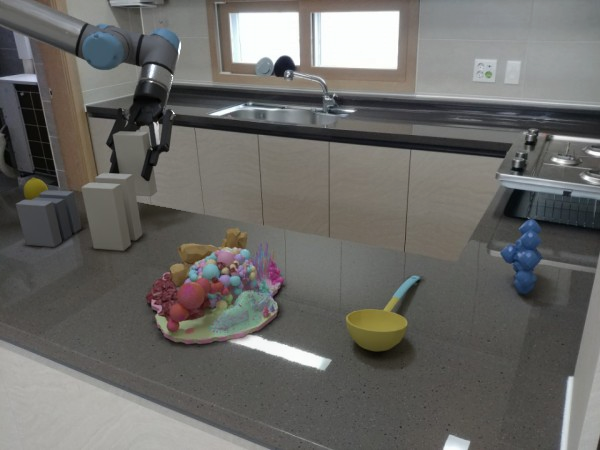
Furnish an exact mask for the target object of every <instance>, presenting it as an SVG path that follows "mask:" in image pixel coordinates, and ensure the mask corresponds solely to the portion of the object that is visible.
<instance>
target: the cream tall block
mask: <svg viewBox="0 0 600 450" xmlns="http://www.w3.org/2000/svg"><path fill="white" fill-rule="evenodd" d="M113 139H114V145H115V151H116V156H117V162H118V168H119V174H132V175H133V180H134V186H135V193H136V197H152V196H154V195H155V194H156V193H157V192H158V189H157V181H156V174H155V166H153V169H152V173H151V177H150V181H146V180H145V179H144V178H143V177H142V176H141V173H142V169H143V165H144V161H145V158H146V154H147V150H148V149H151V150H152V148H151V147H150V146H151V139H150V132H148V131H136V132H125V131H120V132H117V133H115V134H113Z"/></svg>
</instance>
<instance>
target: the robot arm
mask: <svg viewBox="0 0 600 450" xmlns="http://www.w3.org/2000/svg"><path fill="white" fill-rule="evenodd" d="M0 27H1V28H4V29H6V30H9V31H12V32H14V33H16V34H19V35H21V36H23V37H26V38H29V39H32V40H34V41H35V42H38V43H41V44H44V45H47V46H49V47H51V48H54V49H56V50H59V51H61V52H64V53H66V54H69V55H72V56H74V57H76V58H79V59H81V60H84V61H86V63H87V64H88V65H89V66H90V67H92V68H94V69H95V70H99V71H110V70H113V69H115V68H117V67H119V66H120V65H122V64H123V63H124V64H128V65H132V66H136V67H139V68H140V67H141V69H140V72H139V75H138V79H137V81H136V87H135V89H134V93H133V97H132V104H131V105H130V107H129V108H126V109H123V108H122V107H118V109H117V110H116V111H117V112H116V118H115V121H114V123H113V125H112V128H111V130H110V132H109V135H108V136H107V139H106V142H105V145H106V146H107V147H108V148H109V149H110V150H111V155H110V158H109V162H110V163H111V165H110V168H109V172H108V173H112V174H120V173H119V168H118V162H117V156H116V151H115V145H114V139H113V134H115V133H117V132H120V131H125V132H138V131H139V130H140V129H141V127H148V131H149V140H150V147H151V149H148V150H147V154H146V158H145V161H144V165H143V169H142V173H141V176H142V177H143V178H144V179H145V180H146V181H150V177H151V173H152V169H153V167H156V166H157V165H158V162H159V159H160V155H161V154H162V153H168V152H169V151H170V149H171V148H170V147H171V139H172V131H173V124H174V122H175V119H176V117H177V116H176V114H175V112H174V111H173V110H172V108H167V109H166V107H167V103H168V100H169V95H170V92H171V89H172V88H171V87H172V84H173V80H174V77H175V73H176V69H177V66H178V62H179V58H180V52H181V47H182V42H181V38H180V37H179V35H177V34H176V33H175V32H174V31H172V30H170V29H168V28H164V27H161V28H155V29H153V30H152V32H151V33H150V35H149V34H144V33H139V32H136V31H131V30H129V29H125V28H121V27H117V26H115V25H112V24H105V23H98V24H97V25H94V24H91V23H88V22H86V21H85V20H82V19H79V18H77V17H74V16H72V15H70V14H67V13H65V12H63V11H60V10H58V9H55V8H53V7H50V6H49V5H45V4H43V3H41V2H39V1H36V0H0ZM162 118H163V119H162ZM161 119H162V125H161V132H160V133H159V131H160V130H159V129H160V126H159V121H160V120H161Z"/></svg>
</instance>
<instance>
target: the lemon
mask: <svg viewBox="0 0 600 450" xmlns="http://www.w3.org/2000/svg"><path fill="white" fill-rule="evenodd" d="M46 190H49V188H48V186H47V185H46V183H45V182H44V181H43V180H42V179H39V178H35V177H31V178H30V179H29V180H27V181H26V182H25V183H24V186H23V195H24V198H25V200H32V199H34V198H36V197H39V194H40V193H42V192H44V191H46ZM39 198H40V197H39Z"/></svg>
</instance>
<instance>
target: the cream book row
mask: <svg viewBox="0 0 600 450" xmlns="http://www.w3.org/2000/svg"><path fill="white" fill-rule="evenodd" d="M94 179H95V182H88V183H86V184H84V185H83V186H81V193H82V198H83V202H84V207H85V208H84V209H85V214H86V218H87V223H88V227H89V228H88V229H89V233H90V238H91V242H92V247H93V249H94V250H95V249H96V250H107V251H121V252H124V251H125V250H127V249H128V248H129V247H130V246H132V243H131V241H133V242H134V241H137V240H138V239H140V238H141V237H142V236H143V230H142V224H141V217H140V212H139V206H138V199H137V196H136V193H135V186H134V180H133V175H132V174H120V173H119V174H112V173H109V172H102V173H100V174H99V175H97V176H95V177H94Z"/></svg>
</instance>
